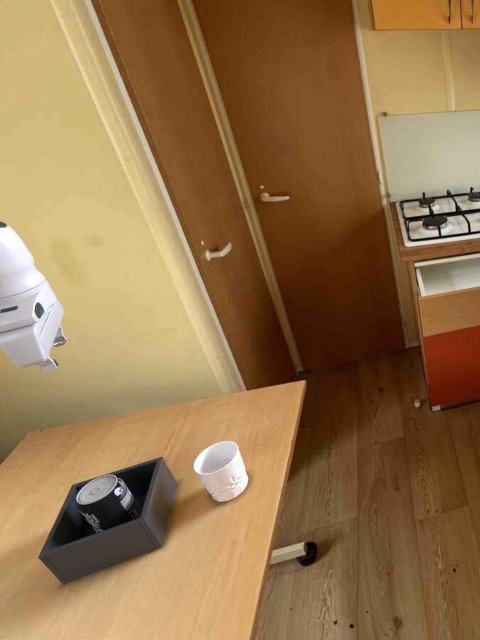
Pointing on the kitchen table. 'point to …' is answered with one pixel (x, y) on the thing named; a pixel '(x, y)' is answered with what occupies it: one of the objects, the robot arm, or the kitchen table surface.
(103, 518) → the beverage can
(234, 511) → the kitchen table surface
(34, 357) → the robot arm
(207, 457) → the white cup
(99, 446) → the kitchen table surface
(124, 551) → the bin
